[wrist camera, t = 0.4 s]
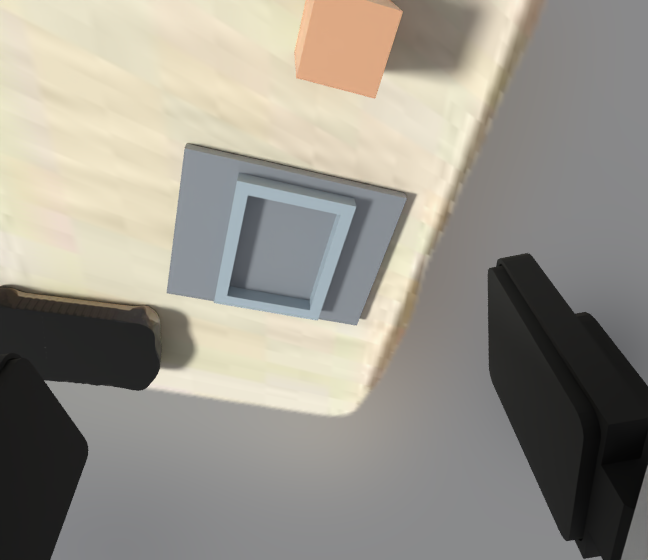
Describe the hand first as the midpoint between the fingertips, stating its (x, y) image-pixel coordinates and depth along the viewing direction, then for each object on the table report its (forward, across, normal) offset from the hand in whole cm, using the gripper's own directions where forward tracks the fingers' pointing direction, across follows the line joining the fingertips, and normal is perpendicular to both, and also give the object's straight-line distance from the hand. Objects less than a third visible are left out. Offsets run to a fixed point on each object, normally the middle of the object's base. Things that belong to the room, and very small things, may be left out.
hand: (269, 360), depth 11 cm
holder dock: (+32, +4, +16) cm, 36 cm away
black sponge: (+33, +25, +21) cm, 46 cm away
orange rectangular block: (+32, -4, -1) cm, 32 cm away
